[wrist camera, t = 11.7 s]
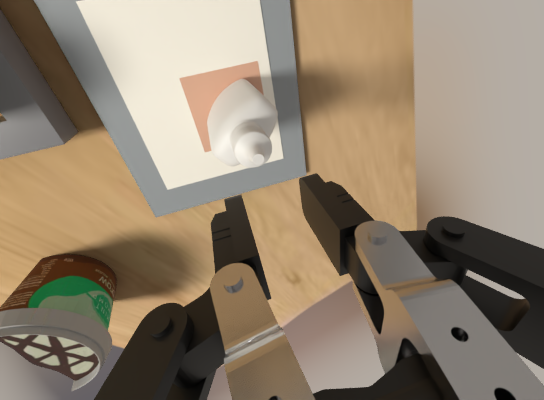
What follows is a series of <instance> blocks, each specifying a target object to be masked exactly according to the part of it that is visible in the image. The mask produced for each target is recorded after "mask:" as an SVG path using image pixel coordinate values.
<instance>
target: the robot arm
mask: <svg viewBox="0 0 544 400" xmlns="http://www.w3.org/2000/svg"><path fill="white" fill-rule="evenodd" d="M299 185H300V193H301V202H302V209H303V213H304V216H305V218H306V220H307V222H308V223H309V225H310V227H311V228H312V230H313V232H314V233H315V235H316V237H317V238H318V240H319V242H320V243H321V245H322V247H323V248H324V250H325V252H326V253H327V255H328V257H329V258H330V260H331V262H332V263H333V265H334V267H335V268H336V270H337V272H338V273H339V275H340V276H341V275H344V274H347V273H349V274H350V276H351V277H352V279H353V290H354V292H355V294H356V297H357V299H358V301H359V303H360V306H361V308H362V310H363V312H364V315H365V317H366V319H367V322H368V324H369V326H370V328H371V331H372V333H373V335H374V338H375V340H376V343H377V347H378V354H379V358H380V361H381V364H382V367H383V369H384V372H385V375H384V376H383V377H381V378H380V379H379V380H378V381H377V382H376V383H374V384H373V385H372V386H370V387H364V388H345V389H325V390H321V391H319V392H316V393H314V394H312V391H311V389H310V387H309V385H308V383H307V381H306V379H305V376H304V374H303V372H302V370H301V368H300V366H299V363H298V361H297V359H296V357H295V355H294V353H293V350H292V348H291V346H290V344H289V342H288V340H287V338H286V336H285V334H284V332H283V330H282V328H280V327H279V325H278V323H277V321H276V319H275V316H274V314H273V312H272V310H271V308H270V305H269V303H268V301H267V300H269V299H271V296H270V292H269V289H268V285H267V282H266V278H265V274H264V271H263V267H262V264H261V260H260V257H259V253H258V250H257V247H256V243H255V240H254V236H253V233H252V230H251V226H250V223H249V219H248V216H247V213H246V209H245V206H244V202H243V199H242V196H241V195H238V196H234V197H230V198H227V199H224V200H225V206H226V211H225V212H222V213H218V214H215V216H214V218H213V220H212V222H211V231H212V241H213V252H214V263H215V275H214V277H213V278H212V280H211V284H210V288H209V289H208V290H207V291H206V292H205V293H204V294H203V295H202V296H200V297H199V298H197V299H196V300H194V301H193V302H191V303H189V304H188V305H186V306H185V307H183V306H181V305H180V304H177V303H166V304H163V305H161V306H158V307H157V308H155V309H153V310H152V311H151V312H149V313H148V314H147V315H146V316H145V318H144V319H143V320H142V321H141V323H140V324H139V326H138V328H137V329H136V331H135V333H134V334H133V336H132V338H131V339H130V341H129V342H128V344H127V346H126V347H125V349H124V351H123V352H122V354H121V356H120V357H119V359H118V361H117V362H116V364H115V366H114V368H113V369H112V371H111V372H110V374H109V376H108V377H107V379H106V381H105V382H104V384H103V386H102V387H101V389H100V391H99V392H98V394H97V395H96V397H95V399H94V400H207V397H208V394H209V391H210V388H211V384H212V381H213V378H214V375H215V372H216V369H217V368H219V367H220V366H221V365H222V364H224V365H225V370H226V375H227V379H228V383H229V388H230V392H231V396H232V400H544V386H543V384H542V383H541V382H540V381H539V380H538V378H537V377H536V376H535V375H534V374H533V372H532V371H531V370H530V369H529V368H528V366H527V365H526V364H525V363H524V362H523V361H522V359H521V358H520V357H519V356H518V355H517V353H518V354H520V355H521V356H523V357H525V358H526V359H528V360H530V361H532V362H533V363H535V364H536V365H538V366H540V367H541V368H543V369H544V249H542V248H539V247H537V246H533V245H531V244H528V243H525V242H523V241H520V240H517V239H515V238H512V237H509V236H506V235H503V234H501V233H498V232H495V231H492V230H490V229H487V228H484V227H481V226H479V225H476V224H473V223H470V222H468V221H465V220H462V219H459V218H455V217H437V218H434V219H432V220H431V221H430V222H429V223H428V224H427V228H426V230H420V231H398V230H397V229H396V228H395V227H394V226H392V225H391V224H388V223H386V222H382V221H375V220H374V219H373V218H372V217H371V216H370V215H369V214H368V213H367V212H366V211H365V210H364V209H363V208H362V207H361V206H360V205H359V204H358V203H357V202H356V201H355V200H354V199H353V197H352V196H351V195H350V194H348V192H347V191H346V190H345V189H344V188H343V187H342V186H341V185H338V184H336V183H334V182H332V181H330V182H326V183H325V182H324V181H323V180H322V179H321V177H320V176H319V175H318V174H313V175H309V176H305V177H302V178H300V179H299ZM468 270H470V271H472V272H474V273H476V274H479V275H481V276H483V277H485V278H487V279H489V280H491V281H493V282H496V283H498V284H500V285H502V286H504V287H506V288H508V289H510V290H513V291H515V292H517V293H519V294H520V295H522V296H523V297H524V298H526V299H514V298H512V297H509V296H507V295H505V294H503V293H501V292H499V291H497V290H495V289H493V288H491V287H489V286H487V285H485V284H483V283H480V282H478V281H476V280H474V279H472V278H470V277H468V276H466V273H467V271H468Z"/></svg>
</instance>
